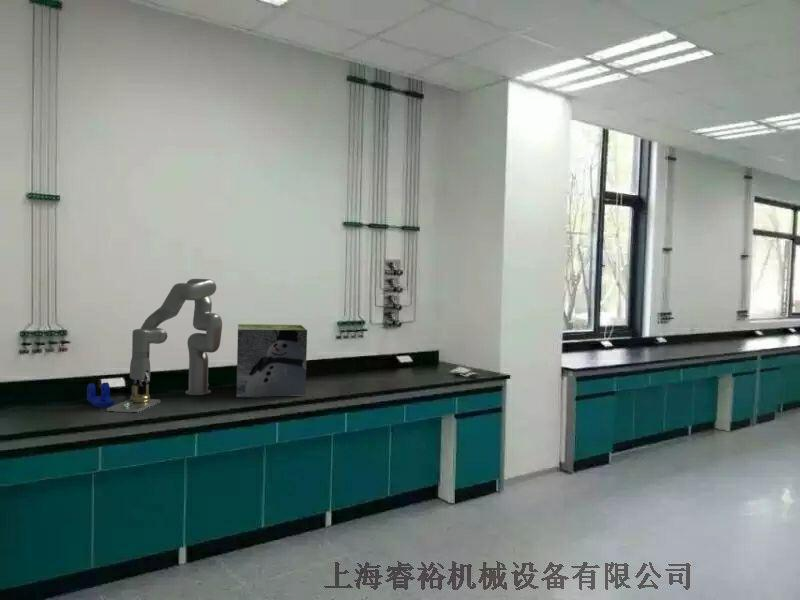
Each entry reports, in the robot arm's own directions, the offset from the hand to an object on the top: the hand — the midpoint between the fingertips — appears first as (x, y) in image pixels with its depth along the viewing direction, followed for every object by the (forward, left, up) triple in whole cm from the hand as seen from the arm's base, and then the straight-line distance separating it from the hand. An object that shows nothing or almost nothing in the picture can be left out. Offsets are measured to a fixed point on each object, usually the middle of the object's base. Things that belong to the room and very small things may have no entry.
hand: (140, 393), depth 279 cm
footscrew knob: (+1, 0, -3) cm, 4 cm away
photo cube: (-47, +49, -6) cm, 68 cm away
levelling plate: (+5, 0, -5) cm, 7 cm away
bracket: (+1, -18, -6) cm, 19 cm away
